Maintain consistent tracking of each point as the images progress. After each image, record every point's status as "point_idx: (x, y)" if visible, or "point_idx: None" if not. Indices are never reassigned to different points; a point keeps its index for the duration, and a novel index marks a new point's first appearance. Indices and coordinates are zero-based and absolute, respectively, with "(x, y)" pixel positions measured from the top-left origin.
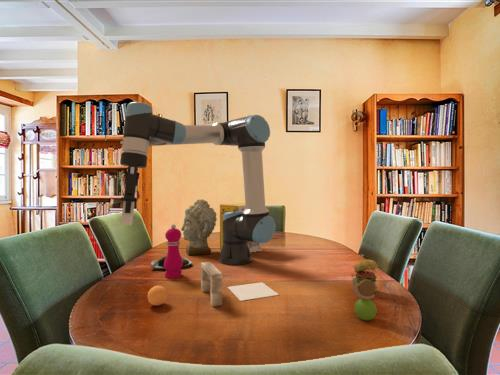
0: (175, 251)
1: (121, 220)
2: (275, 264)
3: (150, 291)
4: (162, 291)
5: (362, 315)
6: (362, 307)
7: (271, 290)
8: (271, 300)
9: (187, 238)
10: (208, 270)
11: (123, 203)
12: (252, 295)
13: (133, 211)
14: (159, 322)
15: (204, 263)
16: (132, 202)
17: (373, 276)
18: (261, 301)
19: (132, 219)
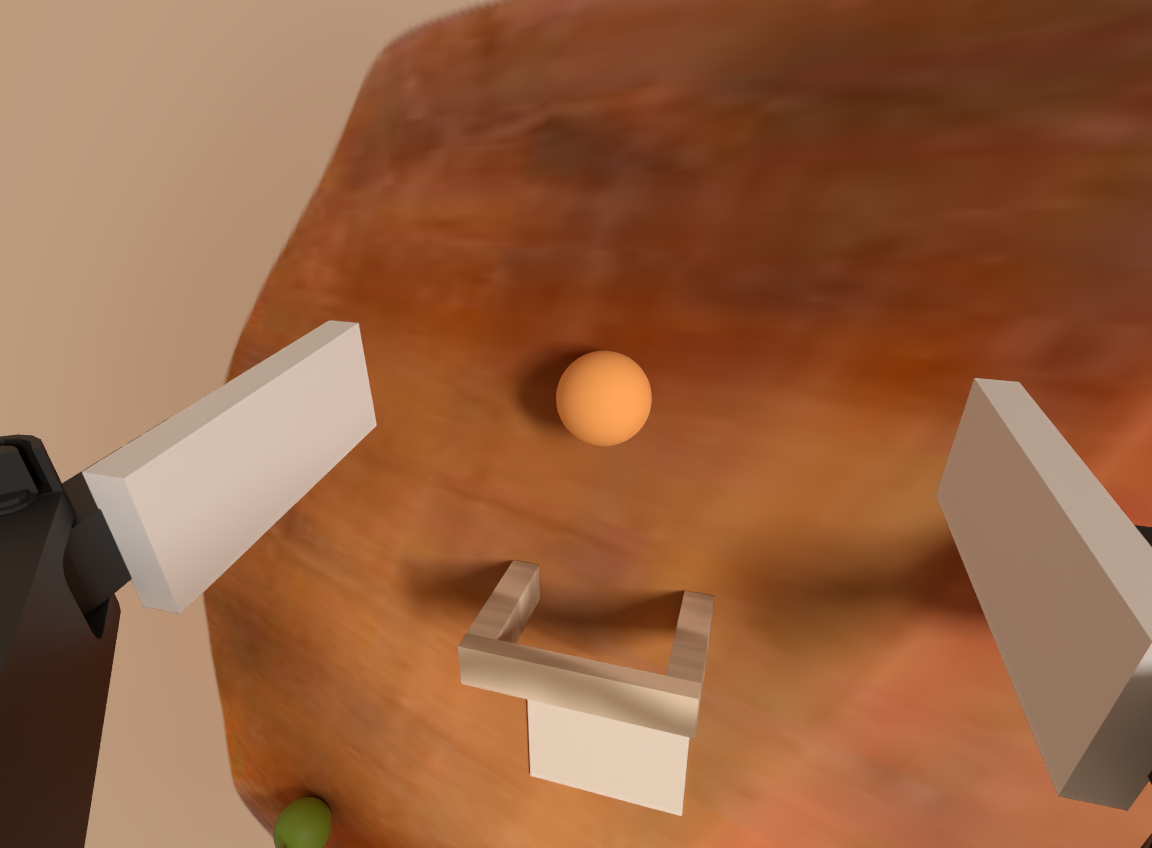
0: None
1: (298, 340)
2: None
3: (581, 373)
4: (565, 425)
5: (293, 802)
6: (280, 821)
7: (577, 783)
8: (497, 731)
9: None
10: (530, 663)
11: (118, 454)
12: (556, 712)
13: (984, 614)
14: (440, 359)
15: (672, 704)
16: (141, 584)
17: None
18: (500, 704)
19: (947, 517)
